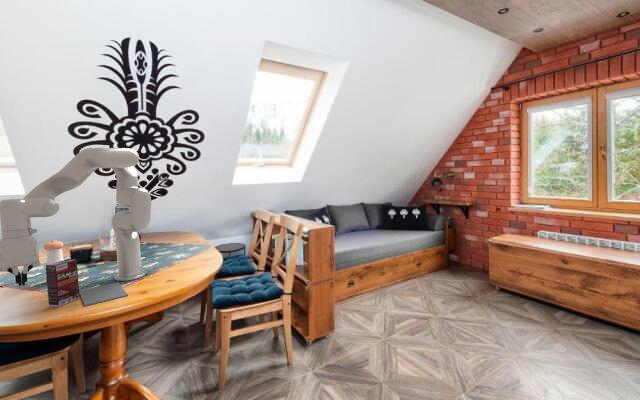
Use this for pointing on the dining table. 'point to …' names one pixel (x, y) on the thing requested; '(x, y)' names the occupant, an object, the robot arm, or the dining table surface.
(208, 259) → the dining table surface
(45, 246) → the pepper shaker
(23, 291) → the dining table surface
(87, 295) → the mat
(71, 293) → the supplement box
